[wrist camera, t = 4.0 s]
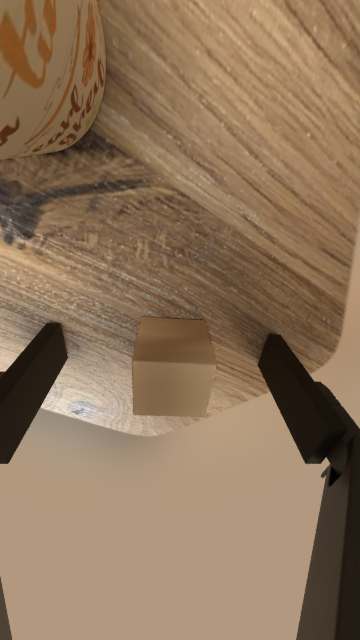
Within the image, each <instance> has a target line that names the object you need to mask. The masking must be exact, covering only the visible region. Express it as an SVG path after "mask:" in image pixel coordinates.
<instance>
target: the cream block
mask: <svg viewBox="0 0 360 640" xmlns="http://www.w3.org/2000/svg"><path fill="white" fill-rule="evenodd" d="M216 368H217V362H216V358H215V355H214V351H213V347H212V343H211V339H210V335H209V331H208V327H207V323H206V321H205V320H190V319H173V318H157V317H141V321H140V325H139V330H138V335H137V339H136V344H135V349H134V354H133V358H132V385H133V414H134V415H149V416H189V417H204V416H205V413H206V409H207V405H208V401H209V397H210V392H211V388H212V384H213V380H214V376H215V372H216Z"/></svg>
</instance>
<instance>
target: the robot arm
mask: <svg viewBox="0 0 360 640" xmlns="http://www.w3.org/2000/svg"><path fill="white" fill-rule="evenodd" d="M67 359H68V356H67V351H66V347H65V342H64V338H63V333H62V329H61V324H60V323H46V325H45V326H44V327H43V328H42V329H41V331H40V332H39V333H38V334H37V335H36V336H35V338H34V339H33V340H32V341H31V342H30V344H29V345H28V346H27V347H26V348H25V349H24V351H23V352H22V353H21V354H20V355H19V356H18V358H17V359H16V360H15V361H14V362H13V364H12V365H11V366H10V367H9V368H8V369H7V371H6V372H0V464H8V463H9V462H10V460H11V458H12V456H13V455H14V452H15V451H16V449H17V447H18V445H19V444H20V442H21V440H22V439H23V436H24V435H25V433H26V431H27V430H28V428H29V426H30V424H31V422H32V421H33V419H34V417H35V415H36V414H37V412H38V410H39V408H40V407H41V405H42V403H43V401H44V399H45V398H46V396H47V394H48V392H49V391H50V389H51V387H52V385H53V384H54V382H55V380H56V378H57V376H58V375H59V373H60V371H61V369H62V368H63V366H64V364H65V362H66V360H67ZM258 367H259V369H260V371H261V373H262V375H263V377H264V379H265V381H266V383H267V385H268V387H269V389H270V392H271V393H272V396H273V398H274V400H275V402H276V404H277V406H278V408H279V410H280V412H281V414H282V416H283V418H284V420H285V423H286V425H287V427H288V429H289V431H290V433H291V435H292V437H293V439H294V441H295V443H296V445H297V447H298V449H299V451H300V453H301V456H302V458H303V460H304V461H305V463H306V464H321V463H322V461H323V460H324V459H325V458H326V457H327V459H328V460H329V462H330V465H329V466H328V467H327V468H326V470H325V471H324V472H323V473H322V475H321V477H322V478H324V477H325V475H326V479H325V485H324V490H323V496H322V501H321V507H320V512H319V518H318V523H317V529H316V534H315V540H314V545H313V550H312V556H311V562H310V567H309V572H308V578H307V584H306V589H305V594H304V600H303V605H302V611H301V616H300V622H299V627H298V633H297V638H296V640H360V429H359V427H358V426H357V425H356V423H355V422H354V421H353V419H352V418H351V417H350V416H349V414H348V413H347V412H346V410H345V409H344V408H343V407H342V406H341V404H340V403H339V401H338V400H337V399H336V397H335V396H334V395H333V393H332V392H331V391H330V390H329V389H328V388H327V387H326V386H325V385H323V384H322V383H321V382H314V380H313V379H312V378H311V376H310V375H309V374H308V372H307V371H306V369H305V368H304V367H303V365H302V364H301V363H300V361H299V360H298V358H297V357H296V356H295V354H294V353H293V352H292V350H291V349H290V347H289V346H288V345H287V343H286V342H285V340H284V339H283V338H282V336H281V335H274V334H269V336H268V339H267V342H266V344H265V347H264V350H263V353H262V355H261V358H260V361H259V363H258ZM0 640H12V636H11V631H10V625H9V620H8V615H7V610H6V604H5V599H4V594H3V589H2V583H1V578H0Z"/></svg>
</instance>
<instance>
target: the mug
mask: <svg viewBox="0 0 360 640" xmlns="http://www.w3.org/2000/svg"><path fill="white" fill-rule="evenodd" d="M105 78H106V51H105V41H104V33H103V28H102V22H101V17H100V12H99V7H98V3H97V0H0V160H1V159H9V158H17V157H25V156H33V155H41V154H48V153H53V152H57V151H61V150H63V149H65V148H68V147H70V146H71V145H73V144H74V143H76V142H77V141H78V140H79V139H81V138H82V137H83V136H84V135H85V133H86V132H87V131H88V130H89V128H90V127H91V125H92V123H93V122H94V120H95V118H96V116H97V114H98V111H99V108H100V105H101V102H102V98H103V93H104V87H105Z"/></svg>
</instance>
